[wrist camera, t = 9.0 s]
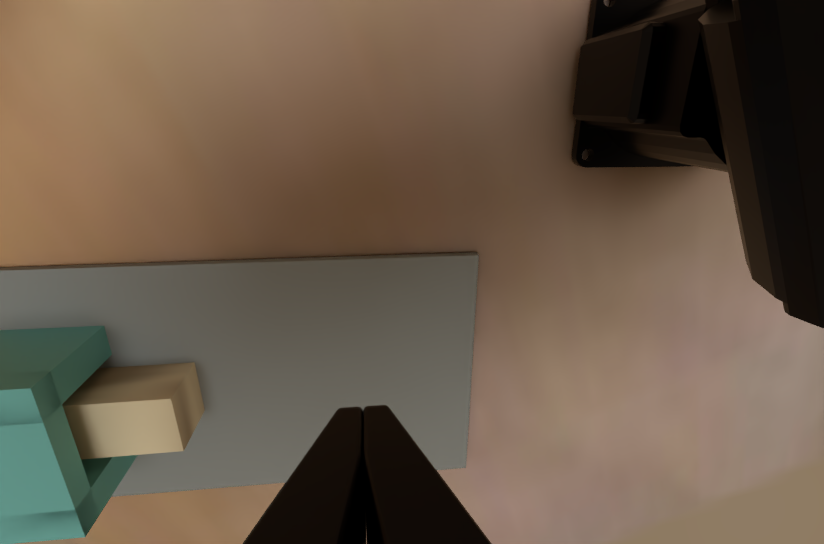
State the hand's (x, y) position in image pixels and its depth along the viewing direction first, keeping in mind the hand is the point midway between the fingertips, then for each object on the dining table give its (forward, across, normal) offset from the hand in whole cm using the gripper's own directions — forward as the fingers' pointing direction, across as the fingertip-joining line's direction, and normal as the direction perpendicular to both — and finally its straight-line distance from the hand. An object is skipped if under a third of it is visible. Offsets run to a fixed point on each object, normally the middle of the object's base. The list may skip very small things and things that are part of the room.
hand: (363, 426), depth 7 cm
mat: (+12, +5, +7) cm, 15 cm away
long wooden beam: (+12, +12, +7) cm, 18 cm away
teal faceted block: (+12, +13, +7) cm, 19 cm away
